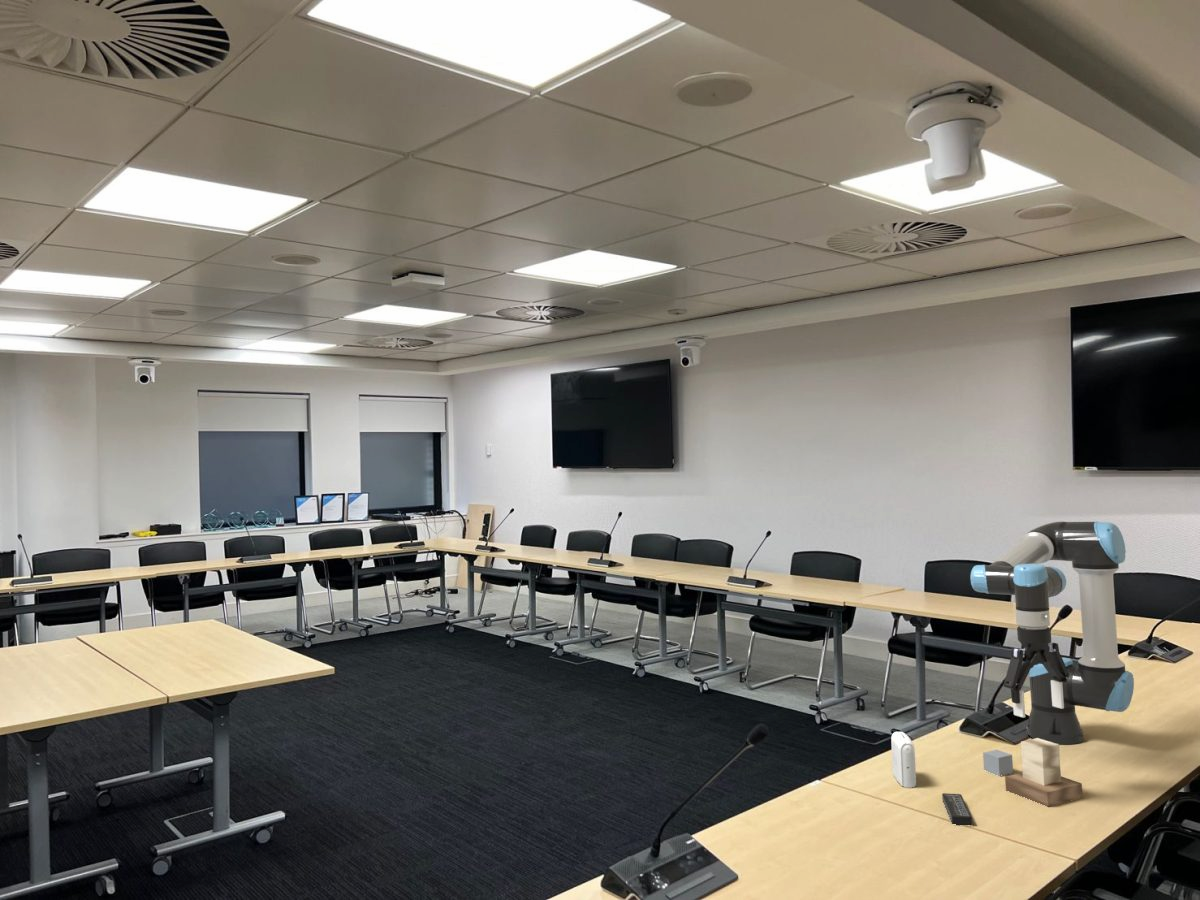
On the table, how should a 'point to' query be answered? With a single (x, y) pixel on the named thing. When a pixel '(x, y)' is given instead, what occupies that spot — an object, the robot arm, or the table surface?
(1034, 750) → the ash block
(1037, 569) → the robot arm
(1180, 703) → the table surface
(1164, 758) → the table surface
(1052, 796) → the walnut base block
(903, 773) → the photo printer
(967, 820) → the multiport hub
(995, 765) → the slate grey block
